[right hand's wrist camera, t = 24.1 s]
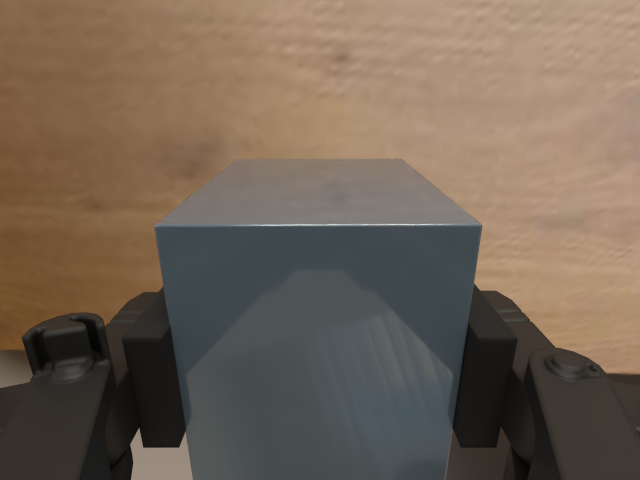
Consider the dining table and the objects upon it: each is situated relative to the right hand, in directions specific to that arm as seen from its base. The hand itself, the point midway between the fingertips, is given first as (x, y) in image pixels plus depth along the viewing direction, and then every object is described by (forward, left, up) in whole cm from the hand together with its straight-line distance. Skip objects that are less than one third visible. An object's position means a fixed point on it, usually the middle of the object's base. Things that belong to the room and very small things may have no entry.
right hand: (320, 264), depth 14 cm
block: (0, 0, -2) cm, 2 cm away
